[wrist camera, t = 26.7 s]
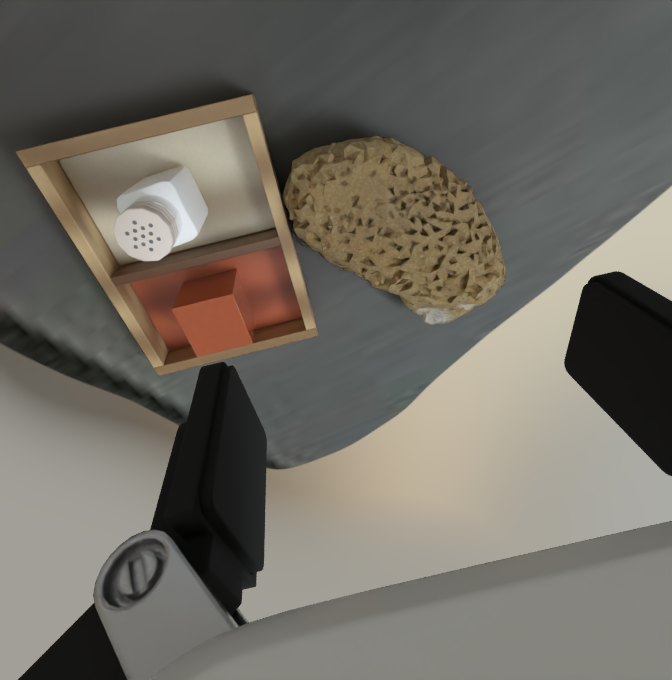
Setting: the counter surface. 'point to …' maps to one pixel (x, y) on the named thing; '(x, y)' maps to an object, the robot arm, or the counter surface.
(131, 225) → the salt shaker
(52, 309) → the counter surface
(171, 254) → the tray
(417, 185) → the sponge
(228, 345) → the clay block
